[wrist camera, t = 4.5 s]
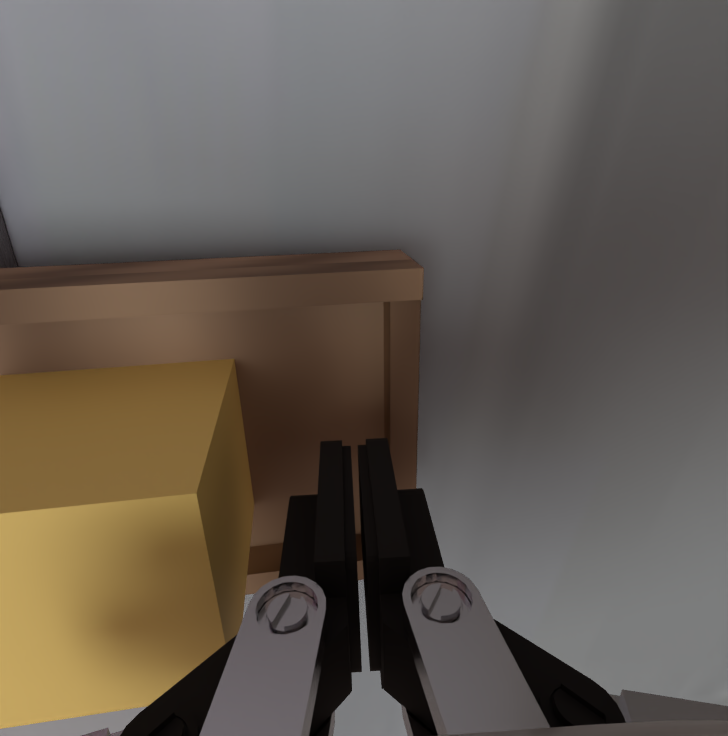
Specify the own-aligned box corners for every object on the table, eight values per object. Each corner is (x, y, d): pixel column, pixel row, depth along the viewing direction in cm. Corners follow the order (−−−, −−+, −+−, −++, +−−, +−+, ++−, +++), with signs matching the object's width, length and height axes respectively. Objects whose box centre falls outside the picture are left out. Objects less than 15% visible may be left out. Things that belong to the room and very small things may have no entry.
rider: (234, 358, 13) (196, 493, 8) (254, 504, 15) (235, 693, 10) (0, 375, 13) (-219, 536, 7) (53, 525, 15) (-88, 741, 9)
